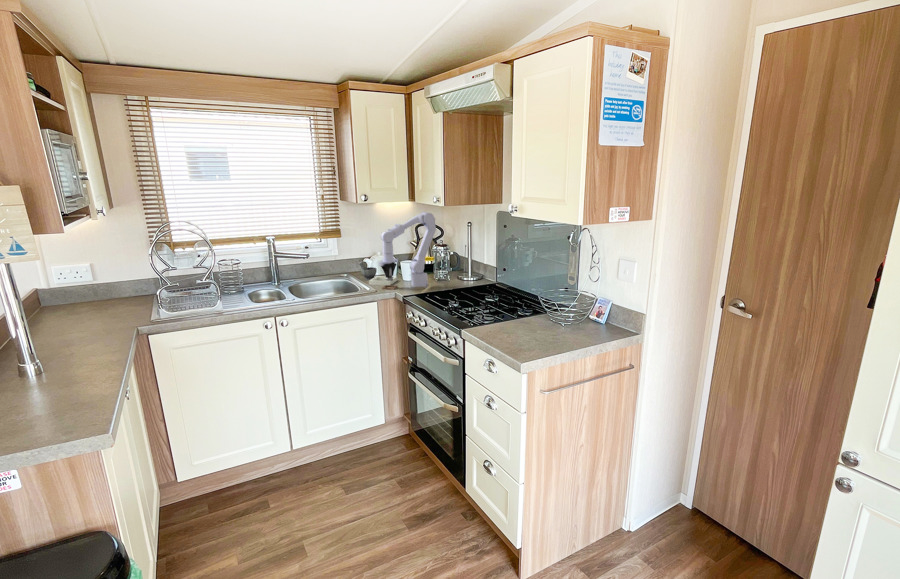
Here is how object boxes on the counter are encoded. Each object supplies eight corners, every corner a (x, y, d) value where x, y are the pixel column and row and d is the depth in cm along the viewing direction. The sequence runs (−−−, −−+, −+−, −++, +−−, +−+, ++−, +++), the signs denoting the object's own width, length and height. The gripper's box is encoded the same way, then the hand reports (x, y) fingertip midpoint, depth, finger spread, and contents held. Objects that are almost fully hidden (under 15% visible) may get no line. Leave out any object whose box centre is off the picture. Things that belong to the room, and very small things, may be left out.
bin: (397, 282, 273) (397, 276, 272) (390, 287, 261) (389, 281, 260) (377, 281, 276) (376, 276, 275) (369, 286, 263) (368, 280, 262)
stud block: (400, 288, 257) (400, 284, 256) (395, 292, 247) (395, 288, 247) (384, 288, 259) (384, 284, 258) (378, 292, 249) (378, 288, 249)
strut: (389, 279, 254) (388, 267, 253) (394, 279, 252) (393, 267, 251) (384, 280, 251) (383, 268, 250) (389, 281, 249) (389, 268, 247)
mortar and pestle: (375, 277, 290) (374, 259, 287) (378, 279, 282) (377, 261, 279) (358, 278, 286) (357, 260, 283) (361, 281, 277) (360, 262, 275)
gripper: (390, 250, 256) (391, 273, 259) (374, 254, 244) (375, 278, 247) (400, 251, 252) (401, 274, 256) (383, 255, 241) (385, 279, 244)
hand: (389, 276), depth 251 cm, fingers closed on strut, 3 cm apart
